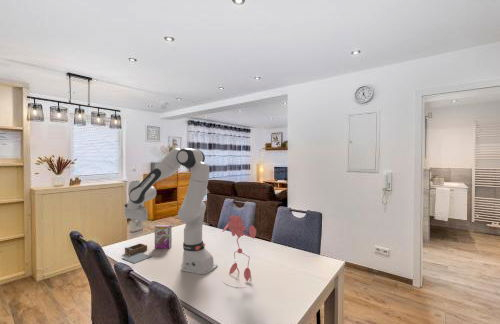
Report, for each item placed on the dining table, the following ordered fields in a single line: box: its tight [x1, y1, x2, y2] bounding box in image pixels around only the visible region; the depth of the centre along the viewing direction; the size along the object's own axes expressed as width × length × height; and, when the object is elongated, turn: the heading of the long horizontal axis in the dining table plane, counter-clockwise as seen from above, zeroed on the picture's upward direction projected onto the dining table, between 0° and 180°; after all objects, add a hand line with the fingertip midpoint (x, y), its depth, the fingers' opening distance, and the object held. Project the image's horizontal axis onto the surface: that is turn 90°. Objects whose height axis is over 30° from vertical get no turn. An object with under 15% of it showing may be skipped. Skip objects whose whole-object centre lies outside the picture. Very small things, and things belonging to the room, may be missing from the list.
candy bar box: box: [154, 224, 173, 250], centre depth 174 cm, size 11×5×16 cm, turn 84°
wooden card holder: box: [124, 243, 148, 256], centre depth 167 cm, size 8×12×4 cm
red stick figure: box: [222, 214, 257, 289], centre depth 127 cm, size 15×26×35 cm, turn 49°
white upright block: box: [129, 220, 144, 237], centre depth 156 cm, size 4×7×9 cm, turn 148°
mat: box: [121, 252, 152, 264], centre depth 156 cm, size 14×12×1 cm
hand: (136, 225), depth 156 cm, fingers closed on white upright block, 3 cm apart
